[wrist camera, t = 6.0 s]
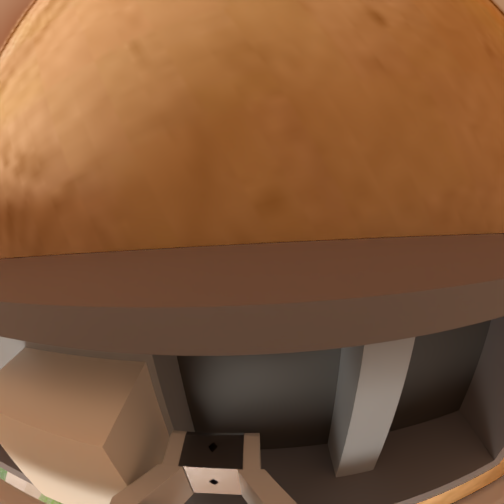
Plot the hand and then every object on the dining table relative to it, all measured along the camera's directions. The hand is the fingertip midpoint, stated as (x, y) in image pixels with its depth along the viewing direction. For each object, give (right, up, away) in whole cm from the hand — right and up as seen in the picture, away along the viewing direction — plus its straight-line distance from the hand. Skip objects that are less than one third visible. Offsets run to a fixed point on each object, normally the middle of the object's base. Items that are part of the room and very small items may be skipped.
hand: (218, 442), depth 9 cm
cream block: (-5, 0, +1) cm, 5 cm away
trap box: (-1, +1, +4) cm, 4 cm away
